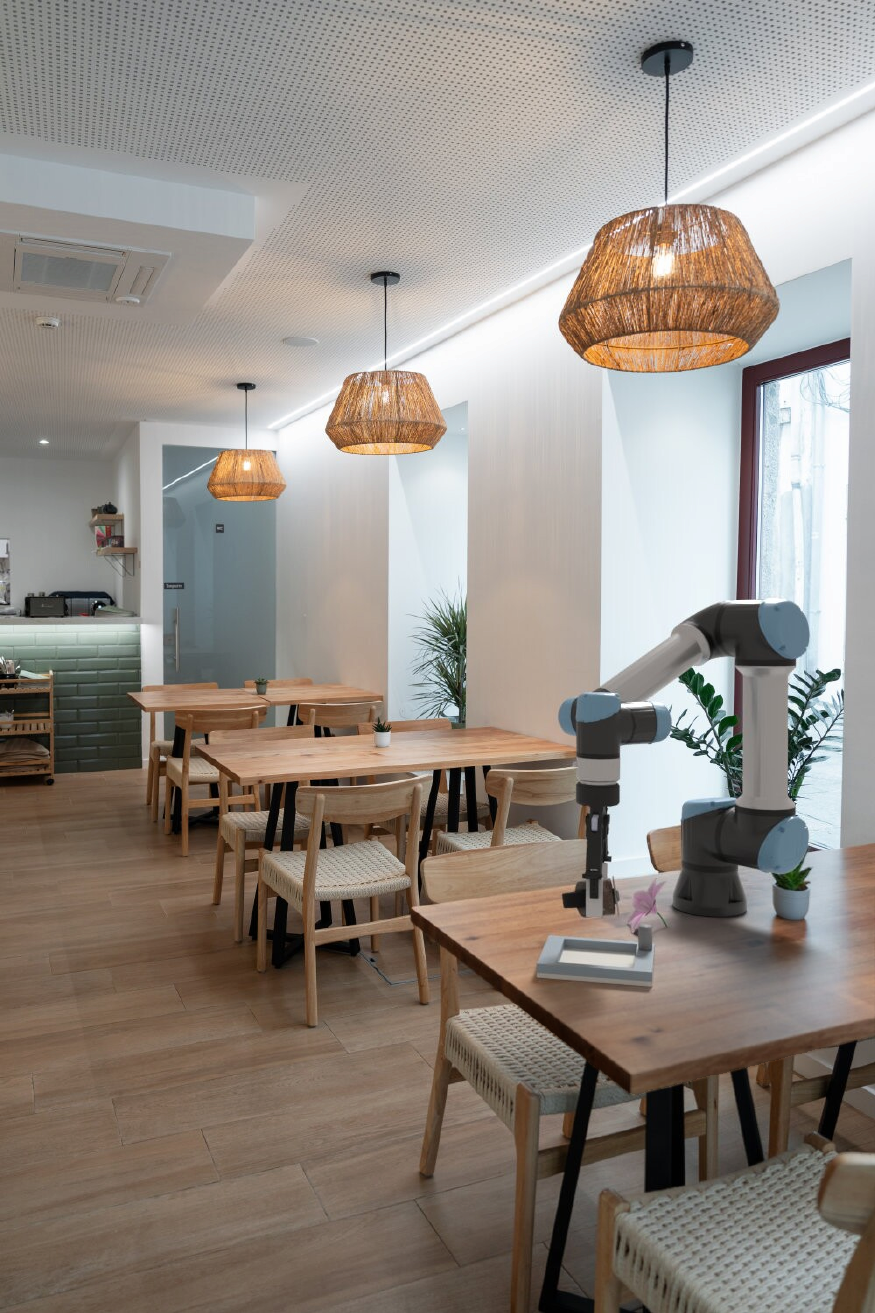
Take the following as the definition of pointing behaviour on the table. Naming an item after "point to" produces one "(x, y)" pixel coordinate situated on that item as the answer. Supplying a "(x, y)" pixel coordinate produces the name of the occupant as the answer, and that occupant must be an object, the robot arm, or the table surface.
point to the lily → (645, 904)
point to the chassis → (599, 959)
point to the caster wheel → (579, 898)
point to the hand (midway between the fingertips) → (597, 907)
